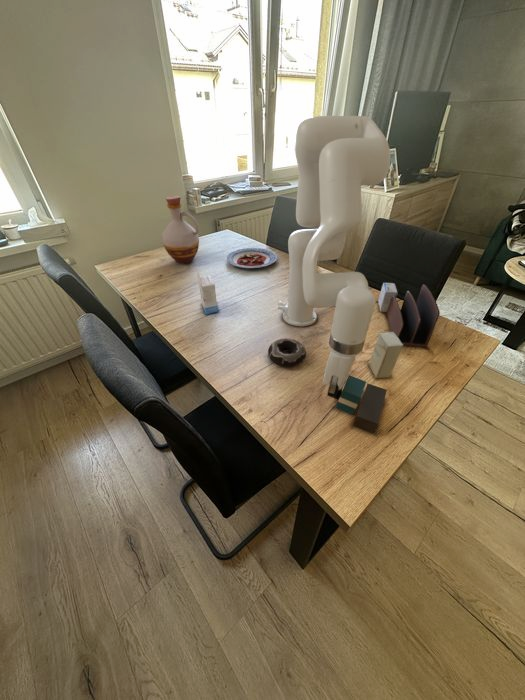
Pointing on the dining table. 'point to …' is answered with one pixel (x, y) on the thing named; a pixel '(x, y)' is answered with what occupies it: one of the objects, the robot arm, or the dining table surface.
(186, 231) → the jug
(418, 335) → the letter holder
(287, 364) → the donut
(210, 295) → the ink box
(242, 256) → the ceramic plate
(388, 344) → the cosmetic box
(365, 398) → the dark block
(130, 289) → the dining table surface
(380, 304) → the medicine box
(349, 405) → the teal carton
